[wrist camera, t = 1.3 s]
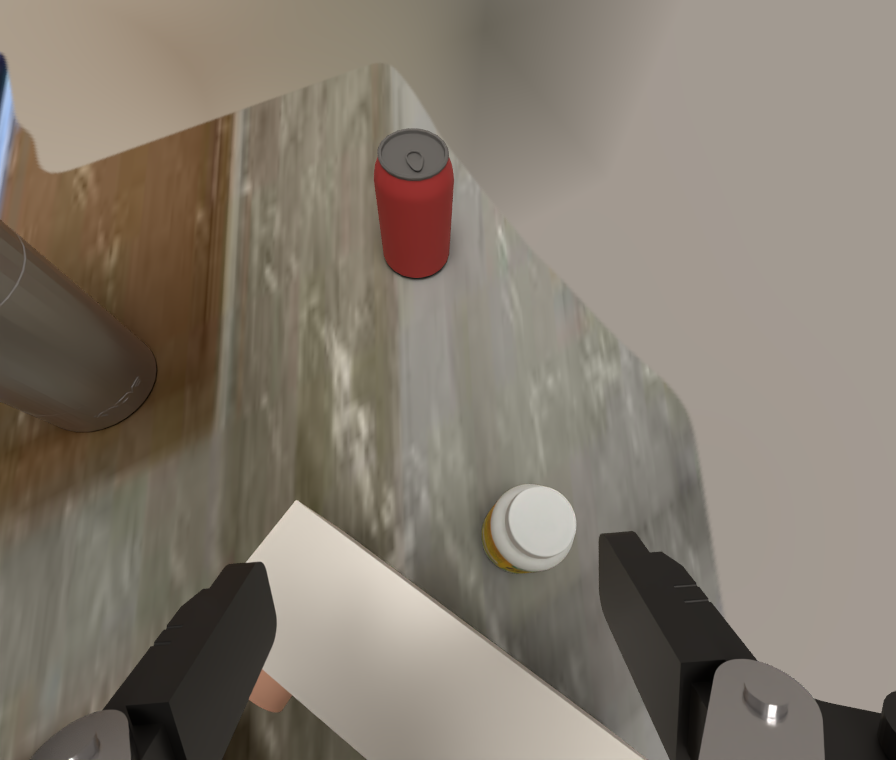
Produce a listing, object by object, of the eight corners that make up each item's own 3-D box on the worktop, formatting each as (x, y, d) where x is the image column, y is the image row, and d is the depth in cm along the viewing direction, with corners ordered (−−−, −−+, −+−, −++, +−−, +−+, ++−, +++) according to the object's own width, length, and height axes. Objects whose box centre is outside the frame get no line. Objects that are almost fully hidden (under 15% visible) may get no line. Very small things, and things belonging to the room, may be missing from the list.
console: (290, 605, 32) (201, 617, 19) (344, 531, 34) (296, 499, 22) (562, 825, 28) (678, 1028, 15) (603, 725, 30) (735, 827, 17)
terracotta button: (245, 664, 24) (220, 674, 21) (290, 602, 26) (273, 604, 23) (290, 703, 24) (271, 719, 21) (334, 637, 25) (322, 644, 22)
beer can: (389, 286, 44) (377, 187, 33) (379, 235, 47) (364, 127, 36) (455, 275, 45) (464, 176, 34) (441, 226, 47) (445, 119, 37)
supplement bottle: (533, 492, 36) (567, 462, 27) (559, 561, 34) (605, 552, 25) (470, 512, 35) (484, 488, 27) (493, 584, 33) (516, 583, 25)
